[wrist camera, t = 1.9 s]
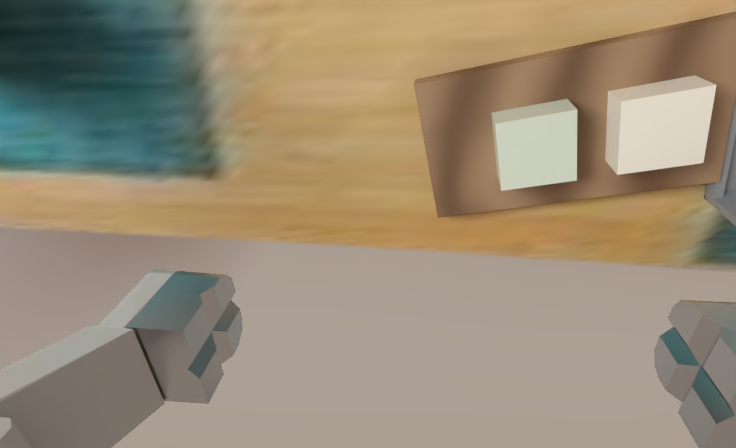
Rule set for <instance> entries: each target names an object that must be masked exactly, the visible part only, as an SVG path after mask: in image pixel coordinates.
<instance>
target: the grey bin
mask: <svg viewBox="0 0 736 448" xmlns="http://www.w3.org/2000/svg"><path fill="white" fill-rule="evenodd" d="M704 198H705V199H706V200H707V201H708V202H709V203H710V204H711V205H712V206H714V207H715V208H716V209H717V210H718V211H719V212H720V213H721V214H723V215H724V216H725V217H726V218H727V219H728V220H729V221H730V222H731V223H733V224H734V225H735V226H736V98H735V103H734V108H733V114H732V119H731V124H730V129H729V134H728V140H727V145H726V150H725V155H724V160H723V166H722V171H721V176H720V181H719V182H715V183H707V184H706V188H705V194H704Z"/></svg>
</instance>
